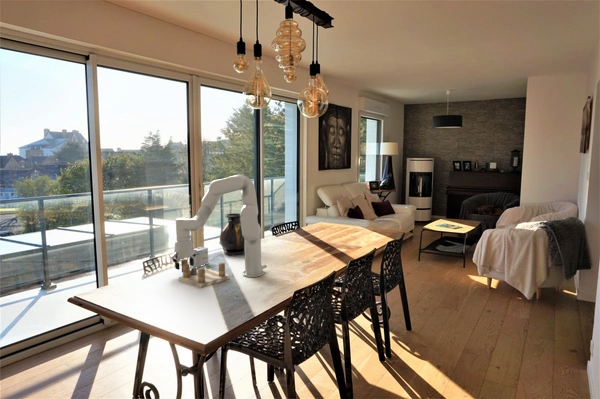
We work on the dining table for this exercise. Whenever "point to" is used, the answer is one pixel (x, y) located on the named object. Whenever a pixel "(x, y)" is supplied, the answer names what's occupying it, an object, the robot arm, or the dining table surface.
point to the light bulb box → (200, 257)
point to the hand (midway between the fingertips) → (184, 267)
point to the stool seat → (204, 276)
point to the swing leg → (193, 270)
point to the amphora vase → (232, 236)
